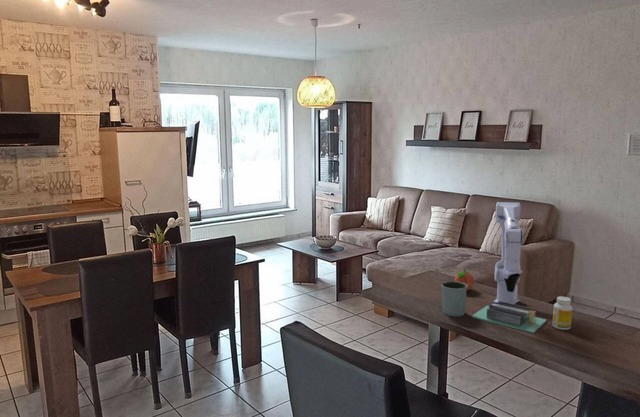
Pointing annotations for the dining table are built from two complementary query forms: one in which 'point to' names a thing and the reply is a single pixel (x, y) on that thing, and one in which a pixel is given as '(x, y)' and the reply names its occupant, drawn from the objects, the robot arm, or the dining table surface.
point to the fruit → (465, 278)
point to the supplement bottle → (562, 313)
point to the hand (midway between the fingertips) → (510, 291)
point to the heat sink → (510, 314)
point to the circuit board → (525, 327)
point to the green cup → (454, 298)
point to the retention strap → (510, 309)
